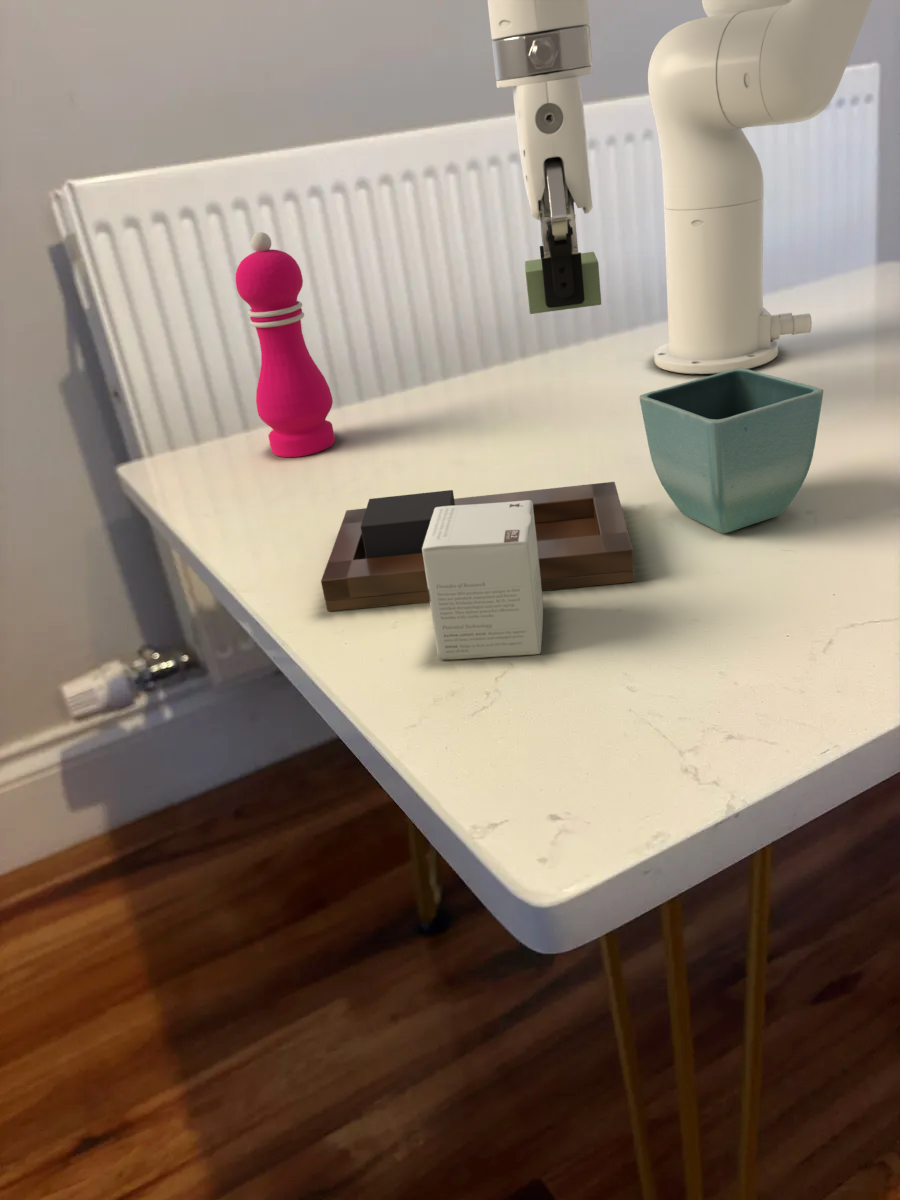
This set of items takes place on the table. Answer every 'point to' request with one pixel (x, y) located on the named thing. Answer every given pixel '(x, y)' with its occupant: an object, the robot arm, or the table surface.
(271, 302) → the pepper mill
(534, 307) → the green rectangular block
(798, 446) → the flower pot
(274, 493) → the table surface
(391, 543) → the black block
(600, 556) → the wooden tray
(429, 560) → the product carton
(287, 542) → the table surface
